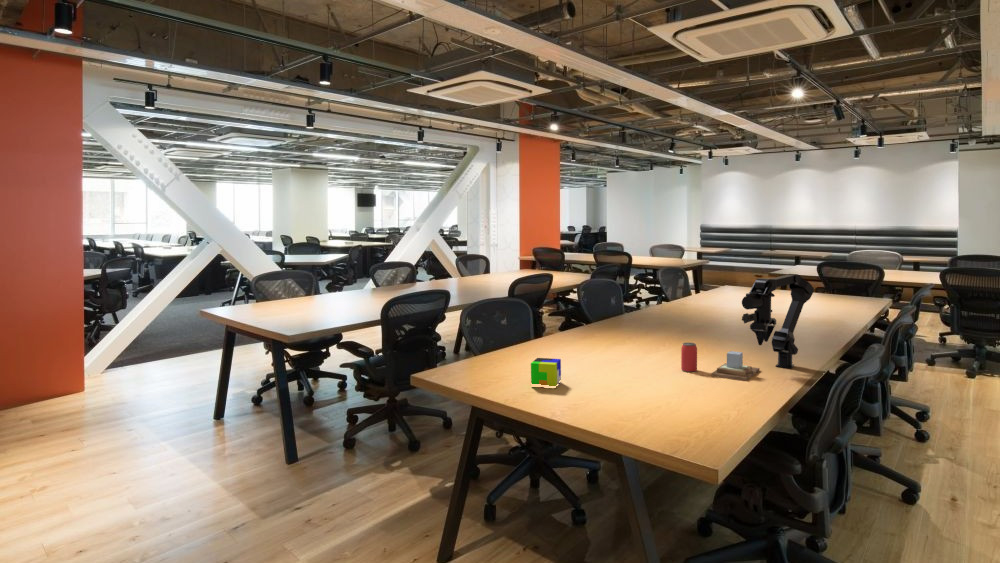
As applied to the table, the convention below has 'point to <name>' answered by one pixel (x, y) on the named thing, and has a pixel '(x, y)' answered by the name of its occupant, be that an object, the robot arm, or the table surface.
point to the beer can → (689, 357)
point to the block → (734, 359)
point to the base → (735, 372)
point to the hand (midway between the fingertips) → (763, 343)
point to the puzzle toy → (546, 371)
